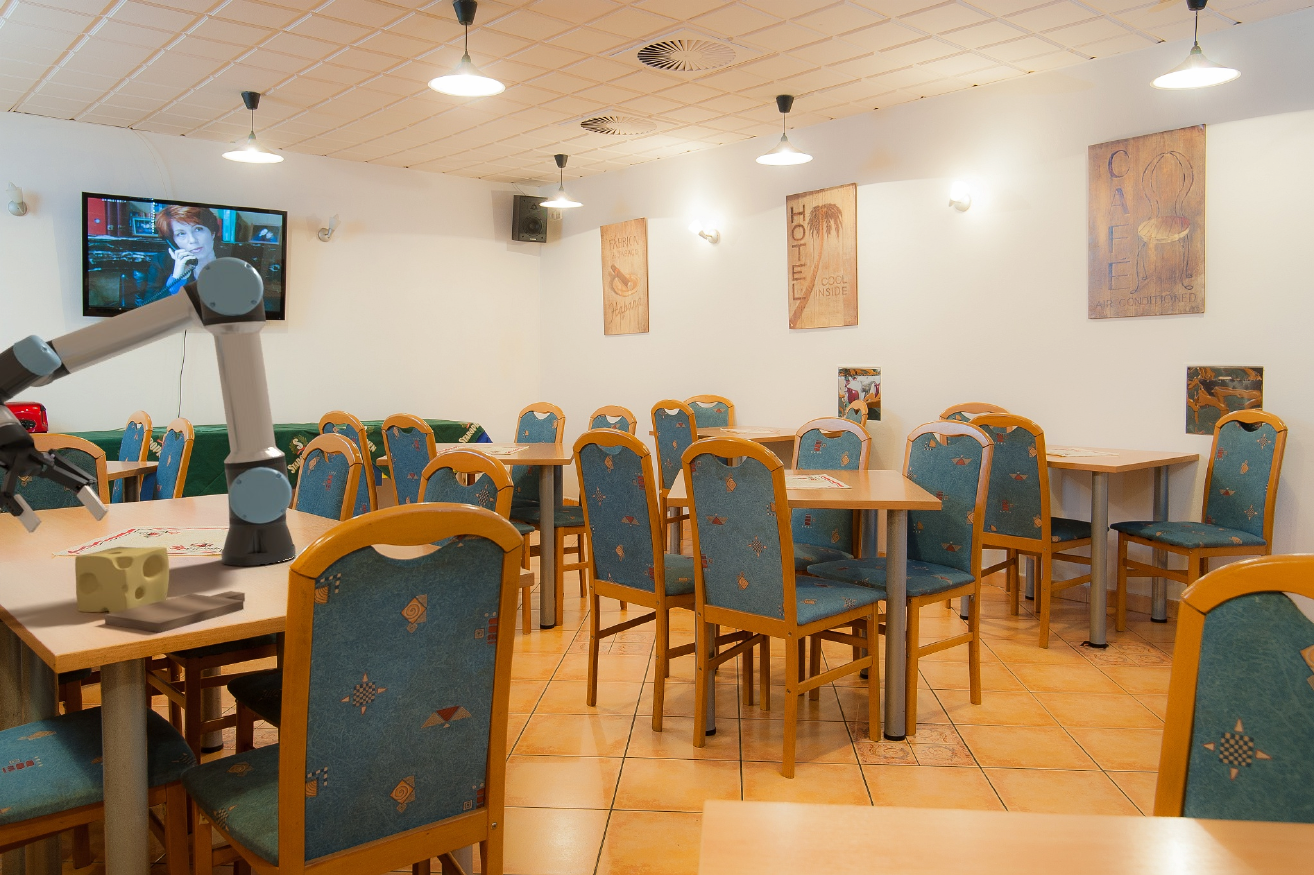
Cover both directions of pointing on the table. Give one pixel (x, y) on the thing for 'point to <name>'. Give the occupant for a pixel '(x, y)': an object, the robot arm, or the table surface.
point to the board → (177, 611)
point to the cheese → (121, 578)
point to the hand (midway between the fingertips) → (70, 521)
